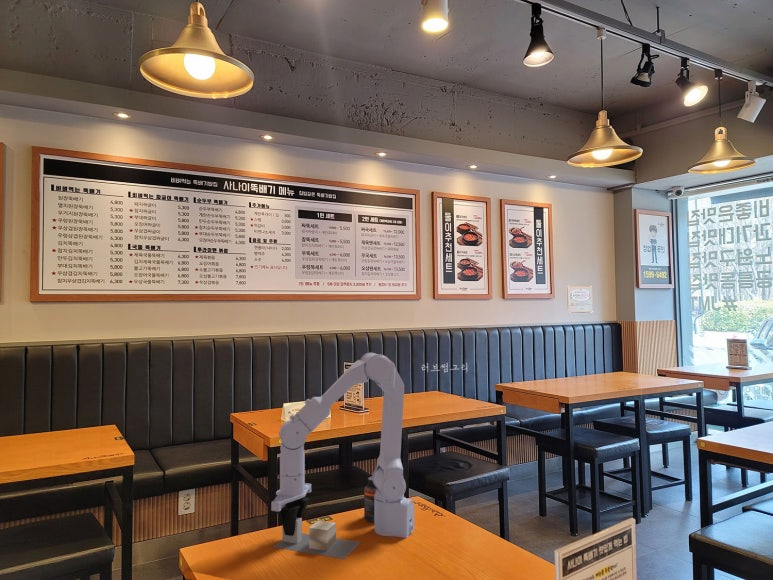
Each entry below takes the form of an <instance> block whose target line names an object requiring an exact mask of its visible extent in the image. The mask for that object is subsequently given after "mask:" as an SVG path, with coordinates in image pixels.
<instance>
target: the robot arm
mask: <svg viewBox="0 0 773 580" xmlns="http://www.w3.org/2000/svg"><path fill="white" fill-rule="evenodd" d="M369 380H372V381H373V382H374V383H375V384H376V385H377V386H378V387H379V388H380V389H381V391H382V392H383V395H382V396H383V400H382V412H381V413H382V415H381V431H380V447H379V449H380V450H379V456H378V458H377V461H376V467H375V469H374V471H373V474H372V476H373V477H372V476H371V477H372V479H373V483H374V485H375V486H376V487H377V490H376V493H375V494H374V533H375V534H377V535H379V536H385V537H399V538H404V539H407V538H408V537H409V536H410V535H411V534H412V533H413V531H414V530H415V504H414V501H413V499H410V498H406V496H405V495H404V494H405V492H406V489H407V484H406V480H405V477H404V467H403V463H402V460H401V451H402V435H403V434H402V433H403V420H404V418H403V417H404V403H405V402H404V400H405V399H404V398H405V384H404V381H403V379H402V378H401V375H400V374H399V372H398V370H397V368H396V365H395V363H394V362H393V361H392V360H391V359H389V357H388V356H386V355H384V354H379V353H378V354H377V353H375V352H366V353H365V354H363V355H362V356H361V358H360V359H357V360H356V361H355V362H353V363H352V364H351V365H350V366H349V367H348V368H347V370H345V371H344V373H342V375H340V377H338V379H337V380H336V381H335V382H334V383H333V384H332V385H331V386H330V387H329V388H328V389H327V390H326V391H325V392H324V393H323V394H322V395H321V396H312V397H311V398H307V399H305V401H304V405H303V407H301V408H300V409H299V410H298V411H297V412H296V413H295V414H291V415H290V416H289V418H290V419H289V420H286V421H285V422H283V424H281V426H280V429H279V432H278V435H279V436H278V437H279V439H280V441H281V443H280V448H279V449H280V454H279V489H278V490H277V491H276V492H275V495H276V496H275V498H274V499H273V500H272V501H271V504H270V505H271V507H270V509H271V512H277V514H278V516H279V519H280V522H281V525H283V529H284V533H285V535H289V536H293V535H294V532H295V524H296V517H297V518H302V519H303V518H304V514H305V511H306V509H307V508H308V507H307V506H308V504H309V503H310V498H309V497H307V494H310V493H312V483H306V481H305V480H306V479H305V478H306V477H305V473H306V471H305V469H306V468H305V467H306V464H305V461H306V460H305V456H306V455H305V452H304V451H305V442H306V441H307V436H308V435H309V434H311V433H313V431H314V430H315V429H316V428H317V427H318V426H319V425H321V423H322V422H324V421H325V420H326V419H327V418H328V417H329V416H330V414H331V413H330V412H331V407H332V406H333V405H334V404H335V403H336V402H337V401H339V399H341V398H342V397H343V396H344V395H345V394H346V393H347V392H348V391H349V390H350V389H352V388H353V387H354V386H355V385H357V384H363V383H369Z"/></svg>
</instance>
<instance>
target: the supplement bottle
mask: <svg viewBox="0 0 773 580" xmlns="http://www.w3.org/2000/svg"><path fill="white" fill-rule="evenodd" d="M372 477H373V475H372V476H369V477H367V485H365V487H364V491H363V492H364V493H363V494H364V496H363V500H364V501H363V505H364V506H363V507H364V508H363V511H364V512H363V513H364V514H363V515H364V519H363V520H364V521H366V522H368V523H374V494H375V493H376V490H377V487H376V486H375V485H374V483H373V479H372ZM374 524H375V523H374Z"/></svg>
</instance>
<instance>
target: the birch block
mask: <svg viewBox="0 0 773 580" xmlns="http://www.w3.org/2000/svg"><path fill="white" fill-rule="evenodd" d="M308 534H309V548H311V549H317V550H323V551H328V550H329V549H330V548H331V547H332V546H333V545H335V544H336V539H337V523H336V522H330V521H324V520H318V521H316V522H315V523H313V524H312V525H310V526H309V528H308Z"/></svg>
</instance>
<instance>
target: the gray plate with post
mask: <svg viewBox="0 0 773 580" xmlns="http://www.w3.org/2000/svg"><path fill="white" fill-rule="evenodd" d="M281 525H282V524H281ZM281 528H282V530H281V531H282V536H281V537H282V539H281V540H279V542H277V543H276V544H274V545H273V546H272V548H274V549H279V550H280V549H281V550H287V551H293V552H298V553H305V554H310V555H311V554H312V555H316V556H324V557H329V558H335V559H340V560H345V559H346V558H347V557H348V556H349V555H350V554H351V553H352V552H353V551H354V550H356V548H357V547H359V545H360V544H361V542H360V541H352V540H347V539H341V538H336V544H335V545H333V546H332V547H331V548H330V549H329V550H328V551H323V550H317V549H311V548H309V533H308V534H307V533H303V518H297V517H296V524H295V532H294V535H293V536H289V535H285V533H284V529H283V525H282V527H281Z"/></svg>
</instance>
